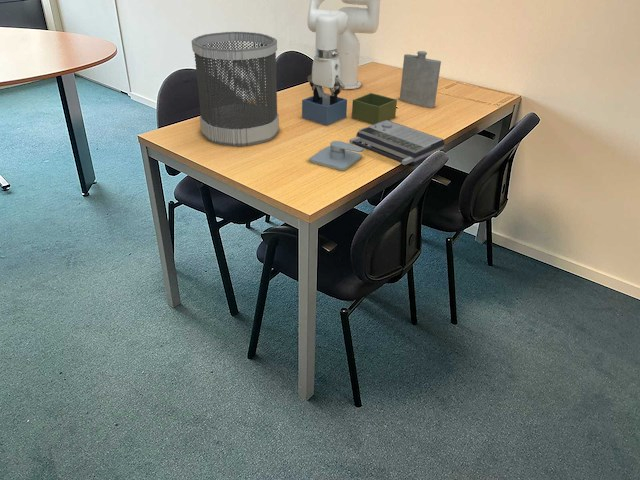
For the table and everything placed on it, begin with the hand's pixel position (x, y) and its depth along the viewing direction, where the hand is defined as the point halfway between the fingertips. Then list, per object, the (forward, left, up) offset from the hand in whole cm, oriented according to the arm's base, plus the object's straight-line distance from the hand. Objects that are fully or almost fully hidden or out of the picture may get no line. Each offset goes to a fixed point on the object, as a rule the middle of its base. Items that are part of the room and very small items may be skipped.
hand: (324, 103), depth 192 cm
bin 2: (+14, +12, -5) cm, 19 cm away
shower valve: (+28, -27, -6) cm, 39 cm away
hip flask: (+17, +38, -6) cm, 42 cm away
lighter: (0, 0, -2) cm, 2 cm away
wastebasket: (-12, -31, -6) cm, 34 cm away
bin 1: (0, 0, -5) cm, 5 cm away
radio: (+36, -8, -6) cm, 37 cm away
